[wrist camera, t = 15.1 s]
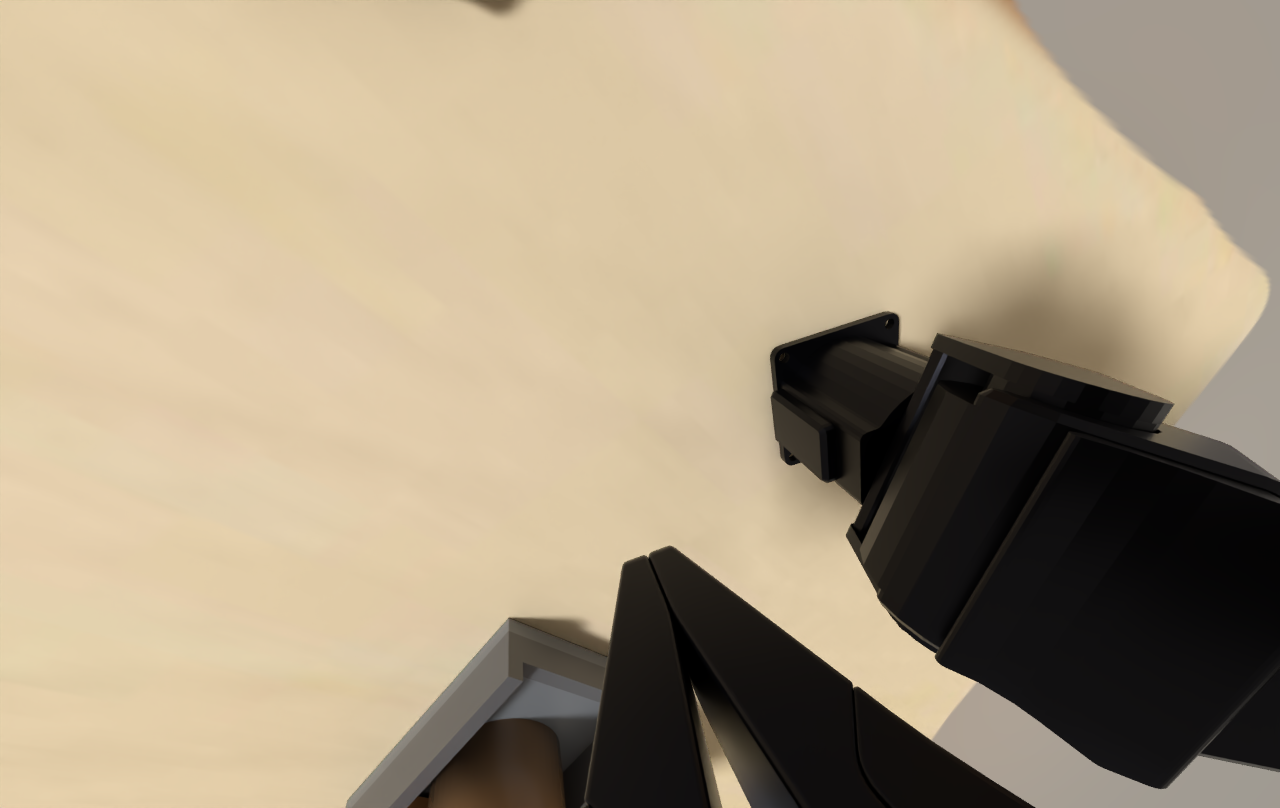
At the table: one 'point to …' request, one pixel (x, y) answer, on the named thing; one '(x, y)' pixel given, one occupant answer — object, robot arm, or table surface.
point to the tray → (499, 713)
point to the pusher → (419, 803)
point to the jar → (503, 769)
